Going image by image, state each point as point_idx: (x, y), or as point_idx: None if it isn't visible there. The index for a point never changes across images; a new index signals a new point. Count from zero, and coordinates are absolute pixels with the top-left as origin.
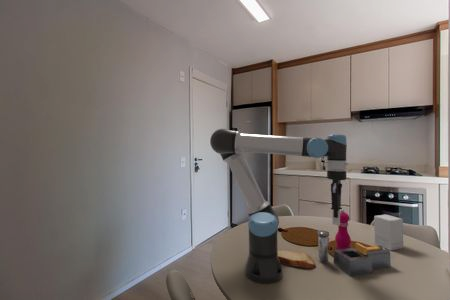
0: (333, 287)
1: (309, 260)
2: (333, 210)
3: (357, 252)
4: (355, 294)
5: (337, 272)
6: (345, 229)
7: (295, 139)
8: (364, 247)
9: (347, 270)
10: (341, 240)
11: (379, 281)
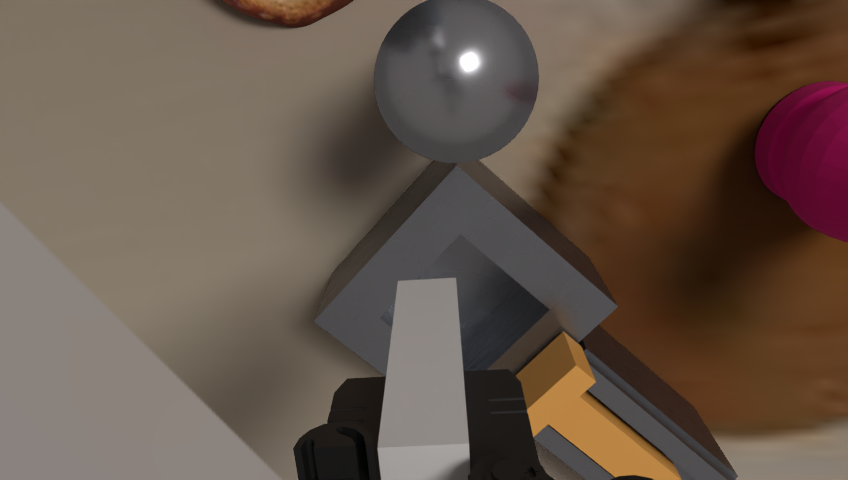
0: (112, 211)
1: None
2: (379, 447)
3: (526, 346)
4: (138, 326)
5: (325, 192)
6: None
7: None
8: None
9: (346, 263)
10: (801, 168)
11: None
